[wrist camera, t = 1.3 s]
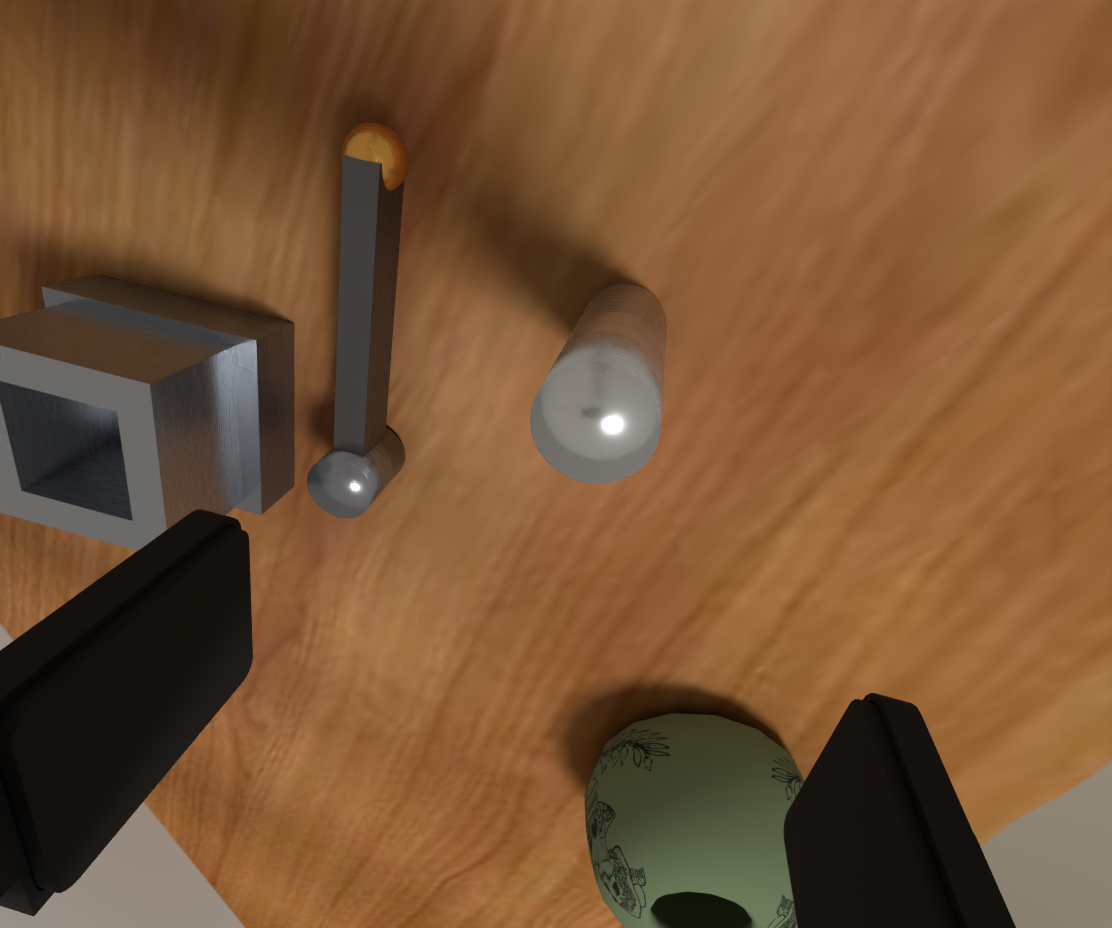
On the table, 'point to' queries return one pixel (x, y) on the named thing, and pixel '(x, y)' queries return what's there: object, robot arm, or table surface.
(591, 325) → the rod
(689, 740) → the mug
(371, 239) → the lever
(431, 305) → the table surface
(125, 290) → the block
